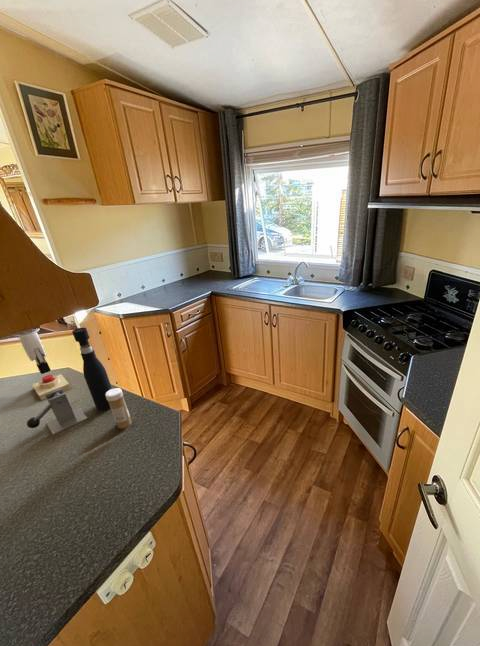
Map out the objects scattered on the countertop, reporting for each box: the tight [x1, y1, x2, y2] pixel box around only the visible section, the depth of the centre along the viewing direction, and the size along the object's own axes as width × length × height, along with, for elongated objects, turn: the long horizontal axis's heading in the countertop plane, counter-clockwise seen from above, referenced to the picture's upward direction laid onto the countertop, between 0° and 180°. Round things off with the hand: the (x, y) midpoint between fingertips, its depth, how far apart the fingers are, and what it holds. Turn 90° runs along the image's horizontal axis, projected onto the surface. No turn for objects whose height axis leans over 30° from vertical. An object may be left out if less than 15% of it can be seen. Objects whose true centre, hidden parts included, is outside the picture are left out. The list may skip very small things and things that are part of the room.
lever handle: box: [26, 392, 60, 429], centre depth 90 cm, size 12×3×3 cm
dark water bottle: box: [71, 327, 113, 412], centre depth 96 cm, size 6×6×30 cm
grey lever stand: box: [45, 388, 88, 436], centre depth 94 cm, size 10×8×12 cm
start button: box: [41, 374, 54, 383], centre depth 114 cm, size 4×4×2 cm
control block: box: [31, 373, 71, 401], centre depth 115 cm, size 12×10×4 cm
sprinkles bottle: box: [105, 387, 133, 429], centre depth 91 cm, size 5×5×13 cm
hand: (45, 371), depth 113 cm, fingers closed
